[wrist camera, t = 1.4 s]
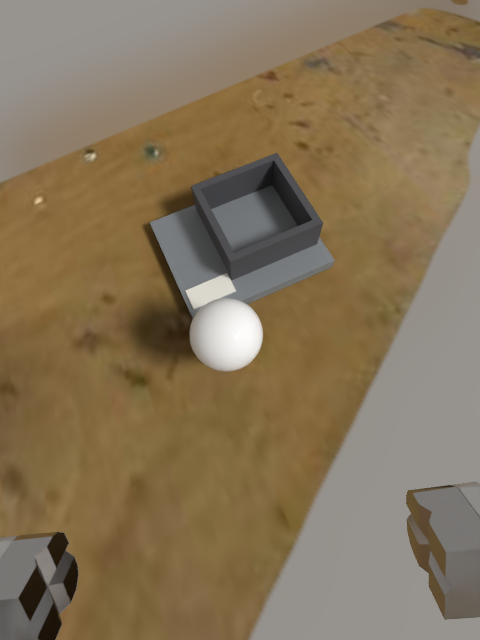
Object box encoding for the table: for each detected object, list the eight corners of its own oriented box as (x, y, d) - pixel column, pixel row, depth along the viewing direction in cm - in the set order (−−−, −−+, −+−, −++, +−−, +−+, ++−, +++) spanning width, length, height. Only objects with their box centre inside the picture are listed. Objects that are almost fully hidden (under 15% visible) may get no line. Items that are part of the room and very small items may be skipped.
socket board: (196, 326, 42) (187, 306, 36) (152, 229, 46) (140, 200, 41) (331, 267, 44) (342, 240, 39) (277, 180, 48) (279, 146, 43)
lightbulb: (194, 341, 41) (174, 298, 31) (250, 323, 41) (248, 275, 31) (211, 397, 39) (195, 371, 28) (269, 377, 39) (275, 345, 29)
